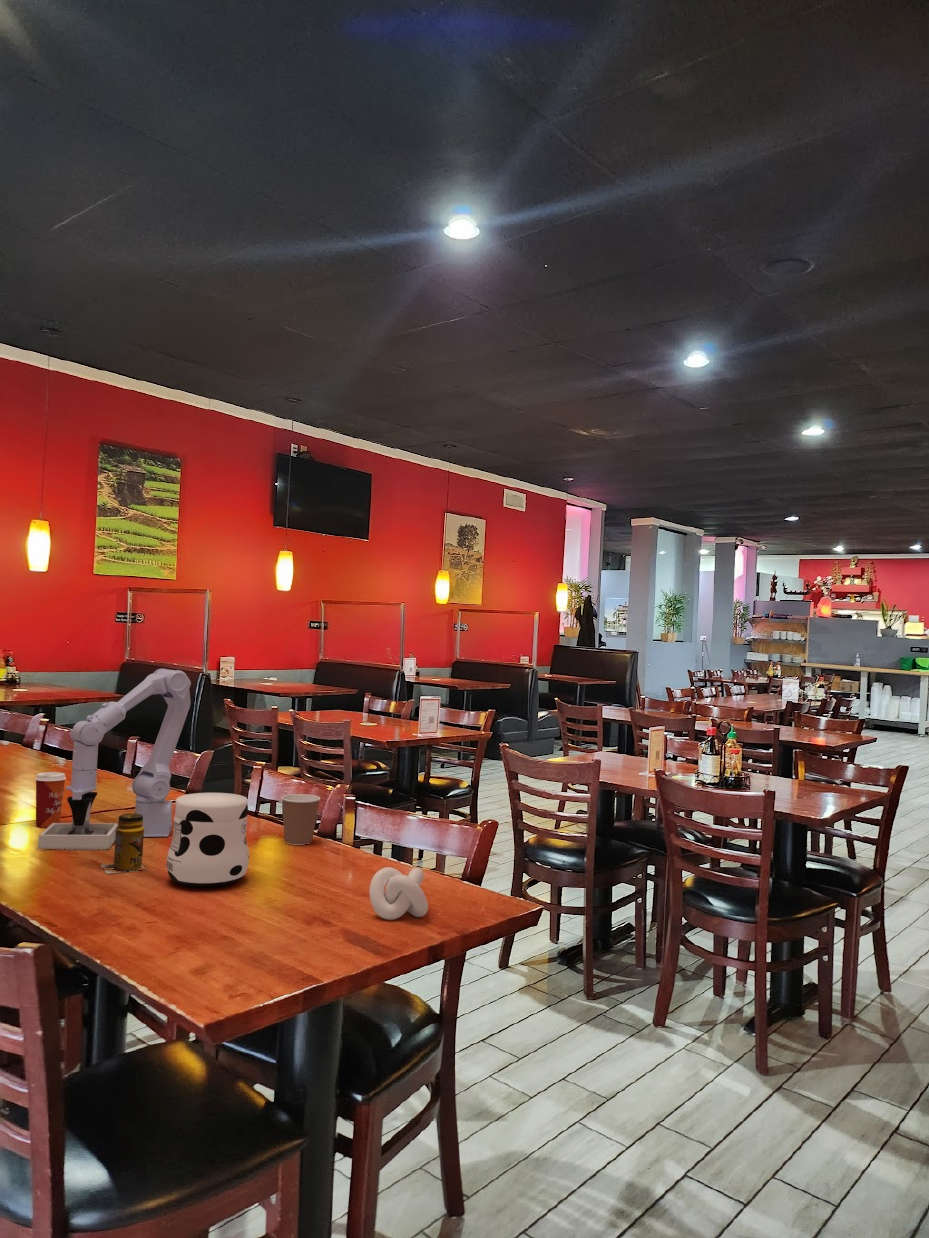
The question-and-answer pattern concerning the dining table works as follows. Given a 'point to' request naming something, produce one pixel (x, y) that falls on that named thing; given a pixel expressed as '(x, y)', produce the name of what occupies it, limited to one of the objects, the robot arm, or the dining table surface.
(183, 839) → the milk container
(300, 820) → the coffee cup
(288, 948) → the dining table surface
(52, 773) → the paper cup
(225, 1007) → the dining table surface
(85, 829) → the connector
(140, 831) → the condiment
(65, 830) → the box
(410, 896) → the white knot sculpture
